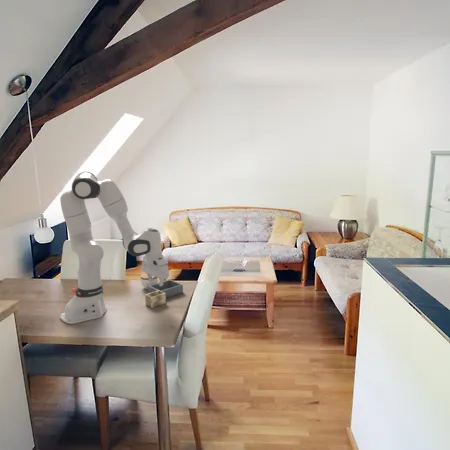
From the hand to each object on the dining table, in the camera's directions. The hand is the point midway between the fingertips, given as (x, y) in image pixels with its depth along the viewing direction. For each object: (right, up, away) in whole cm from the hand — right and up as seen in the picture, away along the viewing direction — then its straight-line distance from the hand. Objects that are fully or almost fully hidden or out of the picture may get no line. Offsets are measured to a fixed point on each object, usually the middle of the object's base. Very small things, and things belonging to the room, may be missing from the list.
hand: (156, 283), depth 213 cm
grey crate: (+3, -8, +17) cm, 20 cm away
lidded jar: (-8, -7, +27) cm, 29 cm away
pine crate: (0, -12, +2) cm, 12 cm away
